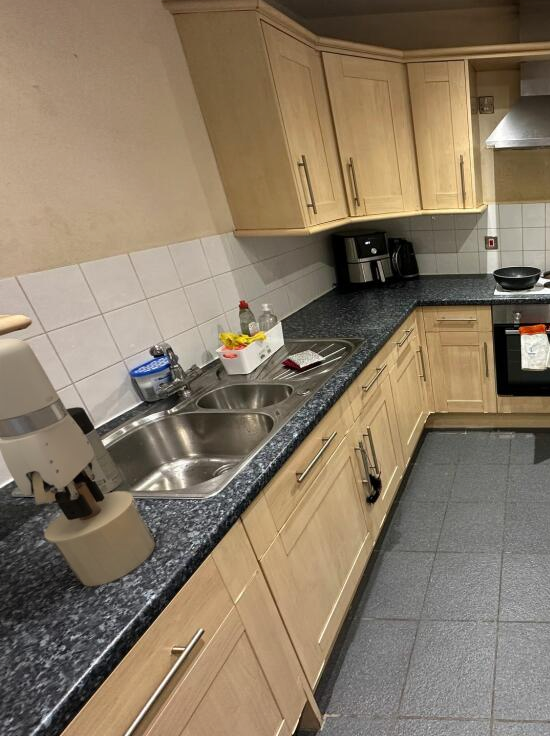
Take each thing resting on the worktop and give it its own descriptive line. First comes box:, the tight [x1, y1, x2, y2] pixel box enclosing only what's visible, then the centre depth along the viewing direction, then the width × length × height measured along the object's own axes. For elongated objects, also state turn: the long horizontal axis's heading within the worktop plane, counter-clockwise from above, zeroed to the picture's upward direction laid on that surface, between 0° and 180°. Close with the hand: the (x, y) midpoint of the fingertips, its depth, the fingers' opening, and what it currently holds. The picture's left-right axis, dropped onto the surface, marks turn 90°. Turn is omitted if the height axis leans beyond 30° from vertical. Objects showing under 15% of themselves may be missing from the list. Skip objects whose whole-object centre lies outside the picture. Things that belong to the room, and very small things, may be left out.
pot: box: [52, 501, 156, 587], centre depth 72 cm, size 10×10×10 cm
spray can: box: [66, 406, 123, 495], centre depth 90 cm, size 7×7×20 cm
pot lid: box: [43, 481, 135, 544], centre depth 69 cm, size 11×11×7 cm
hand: (87, 508), depth 70 cm, fingers closed on pot lid, 2 cm apart
